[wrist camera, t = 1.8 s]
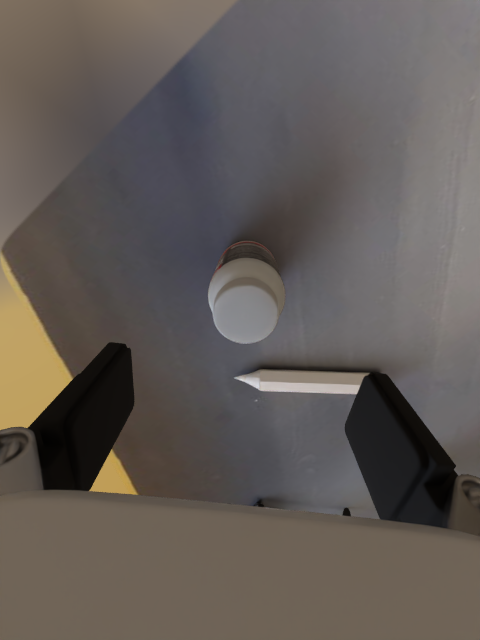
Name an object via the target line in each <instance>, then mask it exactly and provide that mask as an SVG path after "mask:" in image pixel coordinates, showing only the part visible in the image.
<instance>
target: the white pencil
mask: <svg viewBox="0 0 480 640" xmlns="http://www.w3.org/2000/svg"><path fill="white" fill-rule="evenodd" d="M368 374H369V373H363V372H332V371H302V370H272V369H259V370H258V371H255V372H252V373H249V374H245V375H241V376H238V377H234V378H236V379H238V380H241V381H244V382H246V383H248V384H250V385H252V386H254V387H255V388H257V389H259V391H280V392H309V393H338V394H357V393H358V390H359V388H360V385H361V383H362V380H363V378H364V376H366V375H367V376H368Z"/></svg>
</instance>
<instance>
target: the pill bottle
mask: <svg viewBox="0 0 480 640" xmlns="http://www.w3.org/2000/svg"><path fill="white" fill-rule="evenodd" d="M208 301H209V305H210V308H211V310H212V312H213V320H214V323H215V326H216V327H217V329H218V330H219V332H220V333H221V334H222V335H223V336H225V337H226V338H227V339H229V340H231V341H234V342H237V343H244V344H245V343H247V344H248V343H254V342H258V341H260V340H262V339H264V338H266V337H267V336H268V335H269V334H271V332H272V331H273V330H274V328H275V327H276V325H277V322H278V317H279V315H280V314H281V312H282V310H283V307H284V304H285V288H284V284H283V281H282V279H281V276H280V273H279V270H278V267H277V264H276V261H275V259H274V257H273V255H272V253H271V252H270V251H269V250H268V249H267V248H266V247H265V246H263V245H262V244H260V243H257V242H254V241H240V242H237V243H235V244H233V245H231V246H230V247H228V248H227V249H226V250H225V251H224V253H223V254H222V256H221V257H220V260H219V262H218V264H217V267H216V270H215V272H214V274H213V277H212V279H211V282H210V285H209V290H208Z"/></svg>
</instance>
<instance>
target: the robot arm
mask: <svg viewBox="0 0 480 640" xmlns="http://www.w3.org/2000/svg"><path fill="white" fill-rule="evenodd" d="M133 406H134V388H133V373H132V358H131V349H130V348H127V346H126V344H121V343H113V342H110V343H108V344H107V345H106V346H105V347H104V348H103V350H102V351H101V352H100V353H99V354H98V355H97V356H96V357H95V358H94V359H93V360H92V362H91V363H90V364H89V365H88V366H87V367H86V368H85V369H84V370H83V371H82V372H81V374H78V375H77V376H76V377H75V378H74V379H73V380H72V381H71V382H70V383H69V384H68V385H67V386H66V387H65V388H64V390H63V391H62V392H61V393H60V394H59V395H58V396H57V397H56V398H55V399H54V400H53V401H52V402H51V404H50V405H49V406H48V407H47V408H46V409H45V410H44V411H43V412H42V413H41V414H40V415H39V417H38V418H37V419H36V420H35V421H34V422H33V423H32V424H31V425H30V426H29V427H28V428H24V427H11V428H7V429H3V430H0V640H480V478H478V477H476V476H472V475H469V474H461V475H459V476H458V475H457V473H456V472H455V471H454V468H455V467H456V465H455V464H454V463H453V461H452V460H451V459H450V457H449V456H448V455H447V453H446V452H445V451H444V449H443V448H442V447H441V445H440V444H439V443H438V441H437V440H436V439H435V437H434V436H433V435H432V433H431V432H430V431H429V429H428V428H427V427H426V425H425V424H424V423H423V421H422V420H421V419H420V417H419V416H418V415H417V414H416V412H415V411H414V410H413V408H412V407H411V406H410V404H409V403H408V402H407V400H406V399H405V398H404V396H403V395H402V394H401V392H400V391H399V390H398V388H397V387H396V386H395V384H394V383H393V382H392V380H391V379H390V378H389V376H388V375H387V374H381V373H373V372H371V373H369V374H368V376H367V375H366V376H364V378H363V380H362V383H361V385H360V388H359V390H358V393H357V395H356V398H355V400H354V403H353V405H352V408H351V411H350V413H349V416H348V418H347V421H346V423H345V433H346V435H347V438H348V440H349V443H350V445H351V448H352V450H353V453H354V455H355V458H356V460H357V463H358V465H359V468H360V470H361V473H362V475H363V478H364V480H365V483H366V485H367V488H368V490H369V493H370V495H371V498H372V500H373V503H374V505H375V508H376V510H377V513H378V515H379V517H380V519H381V520H380V519H371V518H361V517H352V516H342V515H333V514H324V513H314V512H305V511H295V510H285V509H275V508H266V507H256V506H246V505H236V504H226V503H216V502H206V501H195V500H184V499H174V498H163V497H153V496H142V495H132V494H119V493H106V492H105V493H104V492H93V491H89V490H90V489H91V487H92V485H93V483H94V481H95V479H96V477H97V476H98V474H99V471H100V470H101V468H102V466H103V464H104V462H105V460H106V458H107V457H108V455H109V453H110V451H111V449H112V447H113V445H114V443H115V442H116V440H117V438H118V436H119V434H120V432H121V430H122V428H123V426H124V425H125V423H126V421H127V419H128V417H129V415H130V413H131V411H132V409H133Z"/></svg>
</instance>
